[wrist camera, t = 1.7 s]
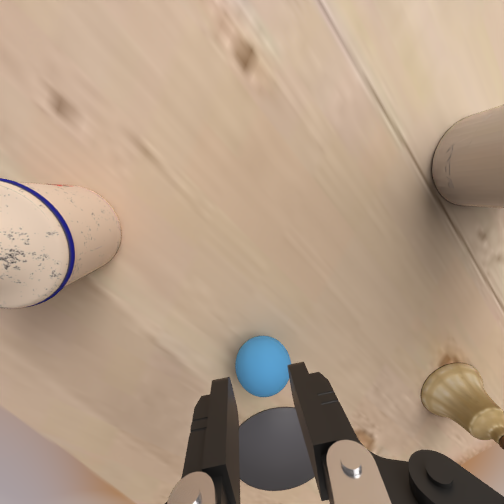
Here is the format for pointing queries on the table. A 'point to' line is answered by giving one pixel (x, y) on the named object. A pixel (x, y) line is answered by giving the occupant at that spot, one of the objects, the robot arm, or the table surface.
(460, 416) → the hand bell
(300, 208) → the table surface
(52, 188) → the teacup with lid
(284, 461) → the charcoal disc
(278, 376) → the ball
